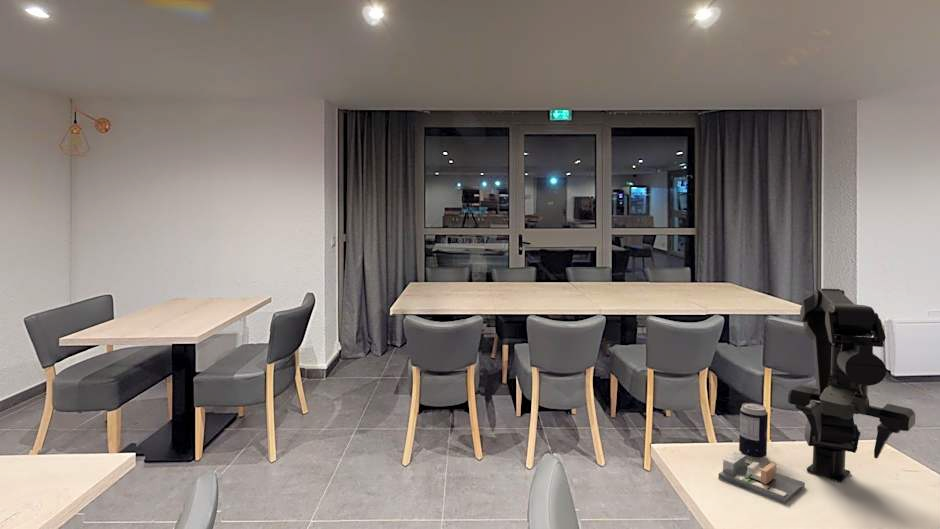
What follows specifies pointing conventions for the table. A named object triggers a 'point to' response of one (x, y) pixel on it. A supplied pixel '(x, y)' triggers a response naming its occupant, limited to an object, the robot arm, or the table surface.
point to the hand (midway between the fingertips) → (846, 449)
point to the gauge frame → (775, 489)
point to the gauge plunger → (761, 472)
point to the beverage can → (753, 430)
